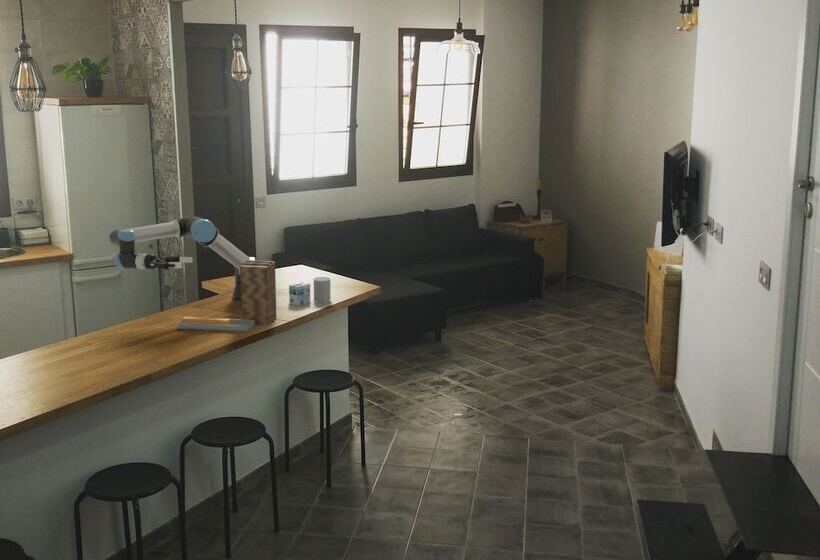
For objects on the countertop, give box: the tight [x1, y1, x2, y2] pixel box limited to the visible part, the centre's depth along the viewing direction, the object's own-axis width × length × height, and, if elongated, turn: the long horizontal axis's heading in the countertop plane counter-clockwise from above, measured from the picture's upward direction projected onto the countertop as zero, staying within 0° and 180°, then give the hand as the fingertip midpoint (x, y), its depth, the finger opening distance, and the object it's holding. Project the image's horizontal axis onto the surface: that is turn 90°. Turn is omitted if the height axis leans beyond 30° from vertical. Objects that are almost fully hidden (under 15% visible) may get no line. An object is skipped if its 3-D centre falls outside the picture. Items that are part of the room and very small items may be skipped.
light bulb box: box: [288, 281, 311, 306], centre depth 485 cm, size 11×7×11 cm, turn 143°
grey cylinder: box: [312, 276, 332, 303], centre depth 492 cm, size 10×10×12 cm
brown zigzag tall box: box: [240, 260, 277, 326], centre depth 446 cm, size 14×14×31 cm
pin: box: [181, 316, 232, 325], centre depth 437 cm, size 24×4×4 cm, turn 82°
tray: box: [176, 318, 256, 333], centre depth 437 cm, size 36×12×3 cm, turn 82°
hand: (187, 262), depth 435 cm, fingers open, 13 cm apart
